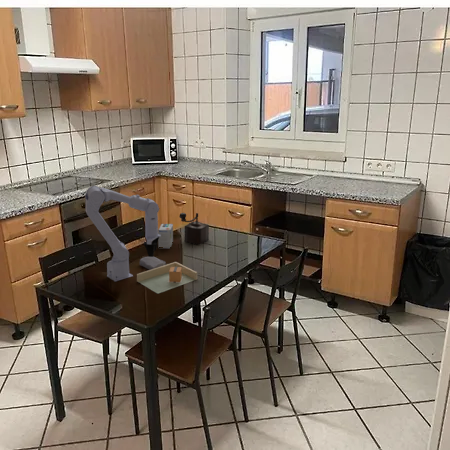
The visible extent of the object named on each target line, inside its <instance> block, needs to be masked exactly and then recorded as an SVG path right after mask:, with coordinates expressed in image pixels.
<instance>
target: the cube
mask: <svg viewBox="0 0 450 450" xmlns="http://www.w3.org/2000/svg"><path fill="white" fill-rule="evenodd" d="M181 278H182V267H171V268H170V270H169V282H180V281H181Z"/></svg>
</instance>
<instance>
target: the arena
mask: <svg viewBox="0 0 450 450" xmlns="http://www.w3.org/2000/svg"><path fill="white" fill-rule="evenodd" d="M171 267H182V278H181V281H180V282H169V270H170V268H171ZM197 280H198V271H195V270H193V269H191V268H189V267H188V266H185V265H184V264H181V263H179V262H178V261H174V262H171V263H166V265H164V266H161V267H158V268H154V269H151V270H149V269H147V270H146V271H142V272H139V273H136V282H138V283H140V284H141V285H143V286H144V287H146V288H147V289H149V290H151V291H152V292H154V293H155V294H161V293H164V292H167V291H169V290H171V289H175V288H177V287H181V286H182V285H186V284H189V283H191V282H194V281H197Z"/></svg>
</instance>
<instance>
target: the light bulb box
mask: <svg viewBox="0 0 450 450" xmlns="http://www.w3.org/2000/svg"><path fill="white" fill-rule="evenodd" d="M158 234H159V235H161V237H159V239H158V243H157V246H158V248H159V247H163V248H162V249H171V248H170V247H172V245H173V243H172V242H174V224H173V223H161V224H160V226H159V227H158Z"/></svg>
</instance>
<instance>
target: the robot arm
mask: <svg viewBox="0 0 450 450" xmlns="http://www.w3.org/2000/svg"><path fill="white" fill-rule="evenodd" d="M84 198H85V212H86V215H87V217H88V218H89V219H90V221H91V222H92V224H93V225H94V226H95V227H96V229H97V230H98V231H99V233H100V234H101V236H102V237H103V238H104V240H105V241H106V243H107V244H108V245H109V247H110V249H111V252H112V253H113V254H112V255H113V256H112V258H111V260H109V261H108V262H107V263H106V268H107V269H106V274H107V275H106V277H107V278H109V279H110V280H112V281H113V282H118V281H122V280H124V279H128V278H131V277H134V275H133V274H132V273H130V261H129V260H130V259H129V257H130V252H129V250H128V248H127V247H126V246H125V243H124V242H122V241H120V240H119V239H118V237H117V236H116V235H115V233H114V232H113V231H112V229H111V228H110V226H109V225H108V223H107V222H106V221H105V219H104V218H103V216H102V215H101V213H100V212H99V210H100V207H101V206H102V205H103V203H104V202H105V203H106V202H109V201H110V200H111V201H112V200H113V201H116V202H120V203H123V204H126V205H127V204H128V207H129V208H130V209H131V208H132V209H134V210H138V211H140V212H141V211H142V212H144V215H145V216H144V223H145V224H144V225H145V230H144V231H145V235H144V236H145V239H146V241H144V242H143V245H144V247H145V249H146V253H147V255H148V256H149V257H154V254H155V252H156V251H157V248H158V239H159V237H161V235H159V234H158V229H159V223H158V222H159V221H158V220H159V217H158V213H159V211H160V208H159V204H158V203H157V202H156V201H154V200H153V199H151V198H145V197H141V196H140V194H135V195H134V194H133V195H130V196H129V195H126V194H123V193H120V192H117V191H115V190H112V189H108V188H105V187H102V186H101V187H99V186H97V185H92V186H90V187H88V189H87V190H86V192H85V195H84Z"/></svg>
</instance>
